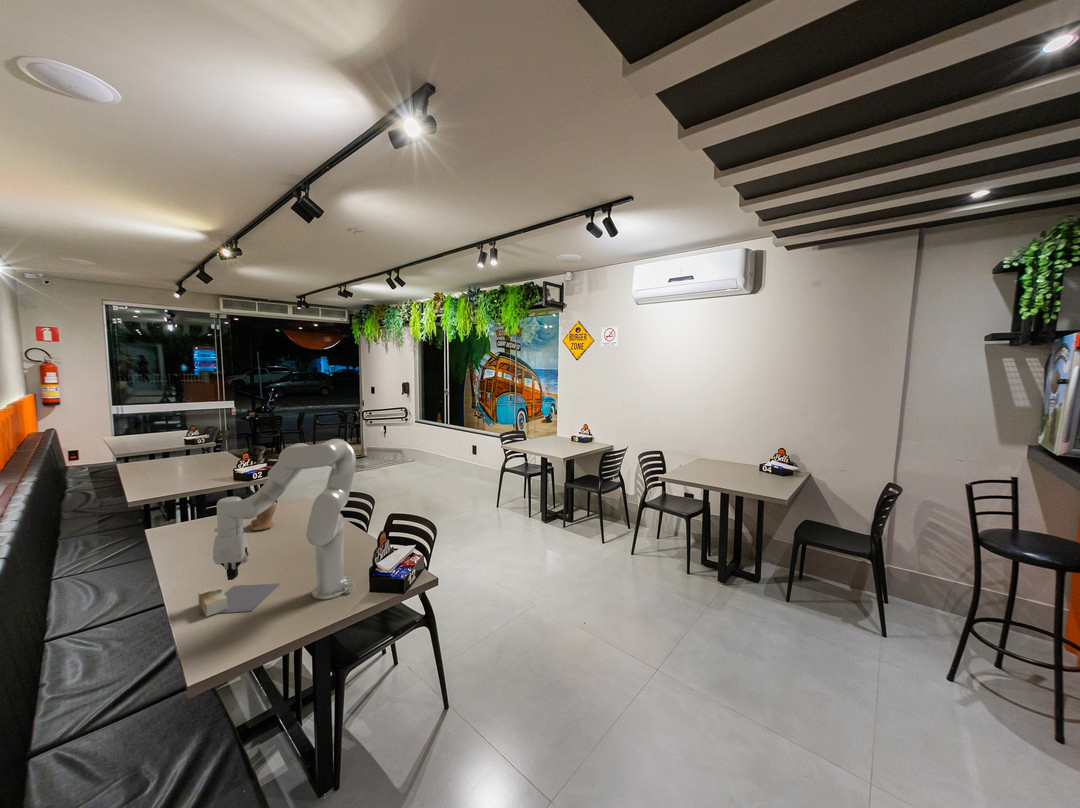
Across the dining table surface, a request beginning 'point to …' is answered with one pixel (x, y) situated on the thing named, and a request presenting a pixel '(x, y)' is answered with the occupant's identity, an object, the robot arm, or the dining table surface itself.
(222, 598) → the skincare box
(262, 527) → the brown boot
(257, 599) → the mat
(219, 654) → the dining table surface
